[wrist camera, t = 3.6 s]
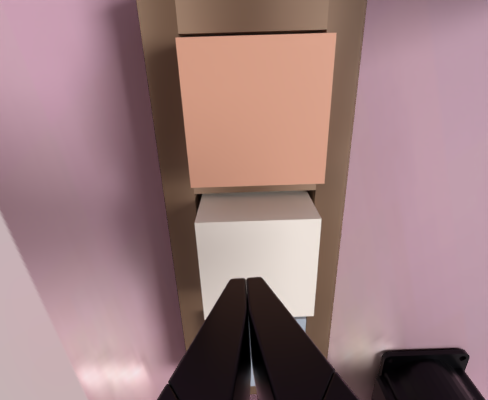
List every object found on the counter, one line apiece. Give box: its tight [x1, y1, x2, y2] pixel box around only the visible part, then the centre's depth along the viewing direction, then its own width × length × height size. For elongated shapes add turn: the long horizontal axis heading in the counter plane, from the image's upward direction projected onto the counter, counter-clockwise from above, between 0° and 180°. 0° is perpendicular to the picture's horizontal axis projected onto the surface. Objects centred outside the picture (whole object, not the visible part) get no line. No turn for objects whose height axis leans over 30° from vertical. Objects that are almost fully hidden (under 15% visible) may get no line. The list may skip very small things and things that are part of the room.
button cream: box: [195, 190, 322, 320], centre depth 16 cm, size 5×5×4 cm
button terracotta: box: [175, 33, 337, 188], centre depth 13 cm, size 5×5×4 cm
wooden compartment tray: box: [136, 0, 367, 394], centre depth 18 cm, size 9×24×3 cm, turn 2°
